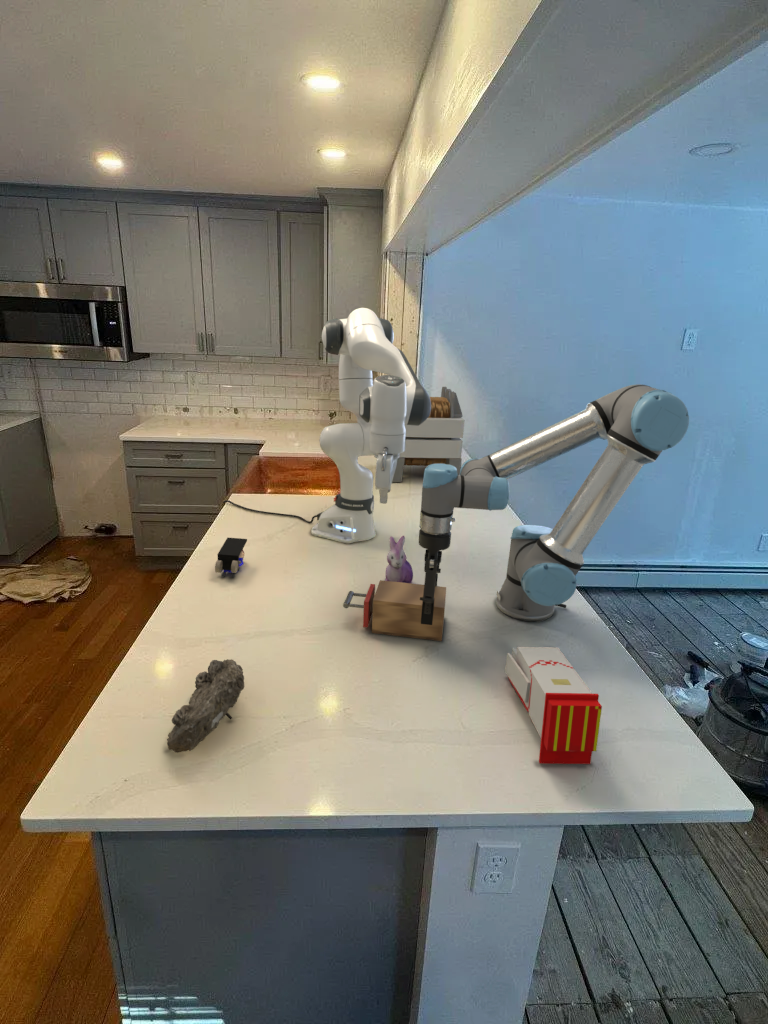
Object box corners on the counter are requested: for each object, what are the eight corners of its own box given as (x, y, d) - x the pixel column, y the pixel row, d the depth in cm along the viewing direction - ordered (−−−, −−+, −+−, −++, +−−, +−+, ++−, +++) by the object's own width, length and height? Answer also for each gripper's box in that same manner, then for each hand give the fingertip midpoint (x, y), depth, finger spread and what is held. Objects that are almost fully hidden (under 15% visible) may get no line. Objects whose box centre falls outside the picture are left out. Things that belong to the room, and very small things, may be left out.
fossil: (192, 660, 117) (244, 628, 112) (224, 691, 120) (276, 661, 115) (142, 746, 98) (202, 712, 93) (182, 779, 101) (242, 748, 96)
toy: (554, 629, 125) (611, 701, 96) (548, 684, 128) (602, 772, 98) (500, 628, 125) (540, 700, 95) (495, 684, 127) (533, 771, 98)
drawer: (341, 624, 140) (341, 599, 137) (349, 605, 149) (349, 581, 146) (427, 634, 137) (429, 608, 135) (430, 614, 146) (432, 590, 143)
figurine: (391, 596, 156) (394, 546, 151) (375, 580, 164) (377, 533, 159) (421, 590, 160) (424, 541, 155) (403, 575, 169) (406, 528, 163)
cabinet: (371, 633, 138) (373, 600, 135) (378, 611, 148) (379, 580, 145) (441, 641, 136) (444, 607, 133) (443, 618, 146) (446, 587, 143)
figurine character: (238, 584, 162) (249, 557, 175) (236, 562, 158) (247, 536, 172) (215, 584, 161) (227, 556, 175) (212, 561, 158) (225, 535, 171)
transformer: (382, 463, 289) (386, 382, 275) (445, 464, 293) (451, 384, 279) (390, 482, 257) (394, 392, 243) (460, 483, 261) (468, 394, 247)
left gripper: (397, 453, 130) (394, 510, 134) (402, 436, 149) (400, 486, 154) (369, 452, 130) (368, 509, 135) (378, 435, 150) (376, 485, 154)
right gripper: (449, 552, 121) (441, 638, 128) (453, 513, 144) (446, 588, 151) (414, 548, 122) (408, 634, 129) (423, 510, 145) (418, 585, 152)
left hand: (385, 497), depth 144 cm, fingers open, 8 cm apart
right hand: (428, 609), depth 140 cm, fingers open, 13 cm apart
